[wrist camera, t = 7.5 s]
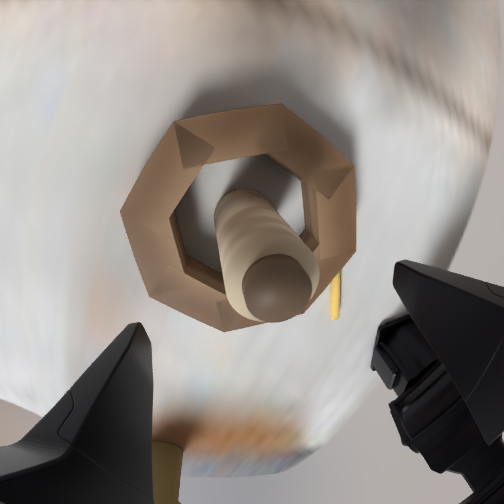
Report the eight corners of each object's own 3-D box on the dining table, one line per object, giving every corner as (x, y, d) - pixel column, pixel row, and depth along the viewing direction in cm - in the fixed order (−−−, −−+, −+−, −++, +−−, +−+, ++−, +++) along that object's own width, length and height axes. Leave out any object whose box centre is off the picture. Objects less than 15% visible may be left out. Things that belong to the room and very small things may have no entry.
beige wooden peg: (267, 184, 17) (326, 236, 9) (274, 237, 18) (327, 321, 11) (208, 195, 17) (217, 260, 9) (220, 248, 18) (237, 343, 10)
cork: (187, 457, 30) (194, 525, 20) (147, 458, 29) (147, 523, 20) (176, 440, 28) (180, 518, 18) (131, 440, 27) (128, 515, 17)
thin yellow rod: (337, 229, 19) (341, 233, 18) (337, 315, 22) (340, 320, 22) (328, 231, 19) (332, 235, 18) (329, 317, 22) (332, 322, 22)
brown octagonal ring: (328, 102, 15) (347, 100, 13) (339, 281, 21) (353, 299, 19) (116, 139, 14) (102, 142, 12) (170, 319, 20) (168, 342, 18)
